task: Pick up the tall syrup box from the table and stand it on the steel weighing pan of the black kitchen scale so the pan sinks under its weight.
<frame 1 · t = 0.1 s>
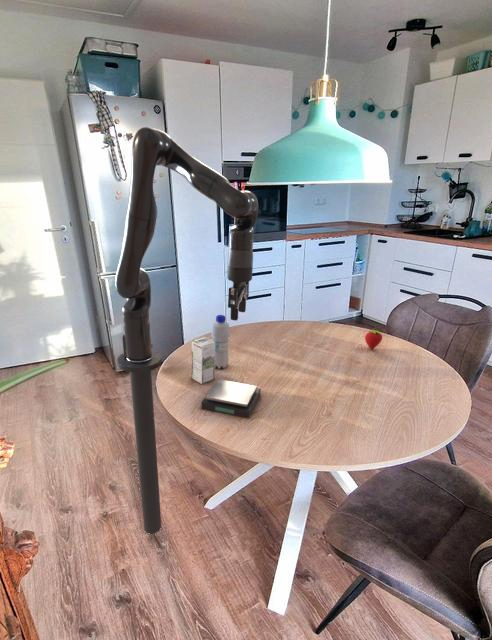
hand: (238, 315, 122), 25 cm above the table, tool pointing down, fingers open, 8 cm apart
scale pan: (232, 392, 120), point 4 cm above the table, slide at 0.0 cm
bottle: (219, 366, 145), on the table
scale: (231, 402, 122), on the table
strawberry: (371, 349, 166), on the table
syrup box: (203, 379, 135), on the table
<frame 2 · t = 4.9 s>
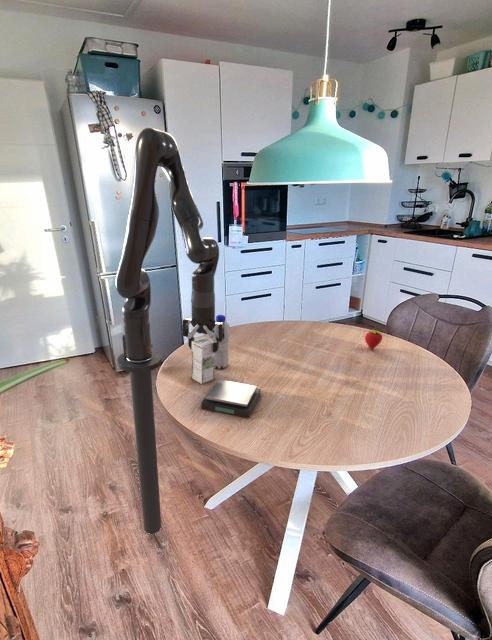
hand: (203, 350, 130), 11 cm above the table, tool pointing down, fingers closed on syrup box, 7 cm apart
syrup box: (203, 379, 135), on the table, touching gripper
everything else where it was.
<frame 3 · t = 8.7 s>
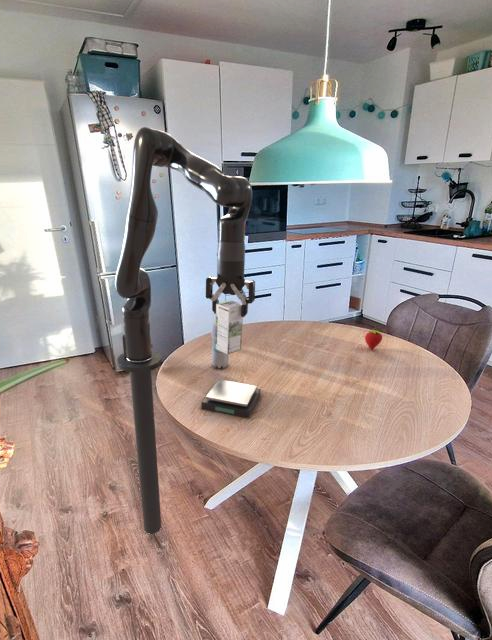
hand: (229, 314, 112), 28 cm above the table, tool pointing down, fingers closed on syrup box, 7 cm apart
syrup box: (228, 350, 117), point 17 cm above the table, touching gripper
everything else where it was.
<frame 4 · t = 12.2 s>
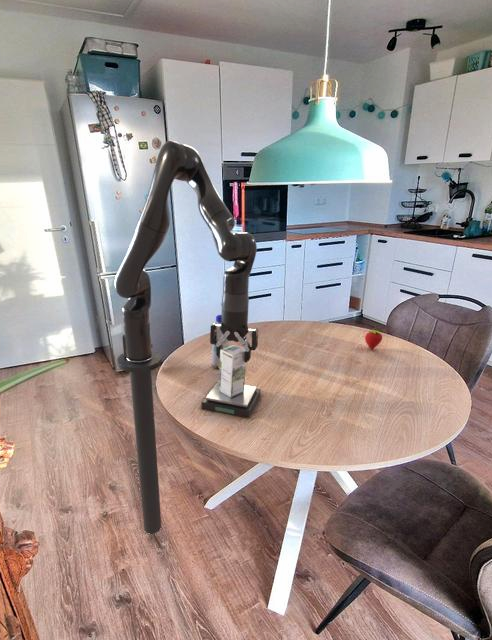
hand: (233, 359, 116), 15 cm above the table, tool pointing down, fingers closed on syrup box, 7 cm apart
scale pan: (232, 393, 120), point 3 cm above the table, slide at -0.3 cm, touching syrup box
syrup box: (231, 392, 120), point 3 cm above the table, touching gripper, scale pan
everything else where it was.
when the fingers open (15 cm above the table, at t = 12.5 s): syrup box stays where it is, resting on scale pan.
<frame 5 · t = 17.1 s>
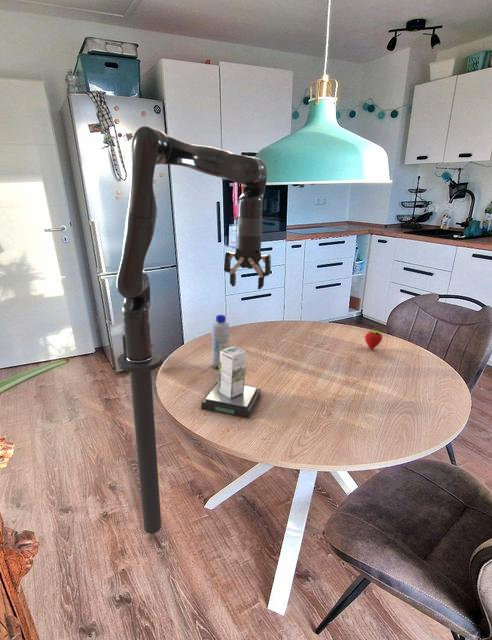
hand: (246, 287, 121), 33 cm above the table, tool pointing down, fingers open, 8 cm apart
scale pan: (232, 394, 121), point 3 cm above the table, slide at -0.7 cm, touching syrup box
syrup box: (231, 393, 121), point 3 cm above the table, touching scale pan
everything else where it was.
at the end: syrup box inside the target area on the scale (0.2 cm from its centre), point 3.0 cm above the scale's base; syrup box tilted 0°; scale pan slide at -0.7 cm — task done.
